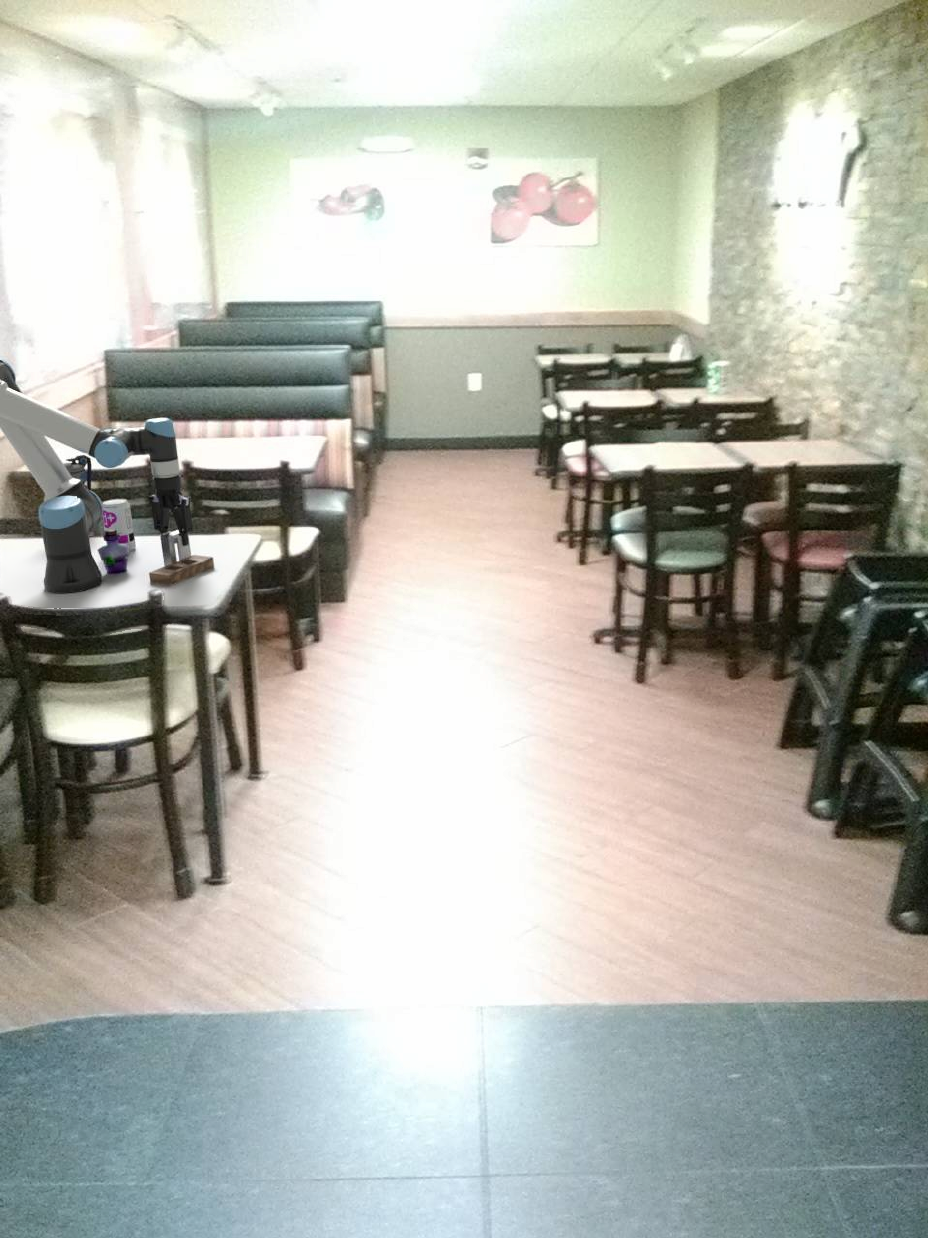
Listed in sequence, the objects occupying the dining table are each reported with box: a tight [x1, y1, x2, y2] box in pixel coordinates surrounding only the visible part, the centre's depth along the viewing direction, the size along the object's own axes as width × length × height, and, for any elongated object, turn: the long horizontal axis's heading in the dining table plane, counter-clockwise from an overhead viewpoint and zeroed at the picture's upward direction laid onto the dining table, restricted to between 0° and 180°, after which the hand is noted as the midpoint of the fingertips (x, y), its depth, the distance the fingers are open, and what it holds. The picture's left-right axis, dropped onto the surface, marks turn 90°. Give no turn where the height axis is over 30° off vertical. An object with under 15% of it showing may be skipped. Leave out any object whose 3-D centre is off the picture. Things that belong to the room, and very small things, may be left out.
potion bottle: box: [97, 530, 130, 575], centre depth 322 cm, size 9×9×12 cm
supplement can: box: [102, 498, 137, 553], centre depth 343 cm, size 8×8×15 cm
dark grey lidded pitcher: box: [62, 454, 94, 533], centre depth 364 cm, size 10×13×25 cm
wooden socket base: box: [148, 554, 215, 587], centre depth 317 cm, size 18×7×3 cm, turn 151°
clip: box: [159, 529, 192, 567], centre depth 325 cm, size 8×3×10 cm, turn 151°
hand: (177, 555), depth 326 cm, fingers open, 5 cm apart
